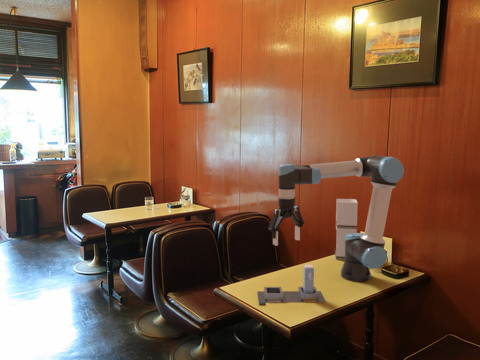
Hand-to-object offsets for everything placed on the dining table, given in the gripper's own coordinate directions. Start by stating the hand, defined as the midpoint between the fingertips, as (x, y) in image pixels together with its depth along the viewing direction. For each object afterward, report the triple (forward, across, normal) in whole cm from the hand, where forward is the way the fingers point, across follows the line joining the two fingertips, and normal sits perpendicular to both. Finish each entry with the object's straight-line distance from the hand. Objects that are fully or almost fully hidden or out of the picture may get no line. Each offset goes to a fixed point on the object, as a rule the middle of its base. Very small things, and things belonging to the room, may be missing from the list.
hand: (286, 242), depth 181 cm
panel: (+25, +3, +6) cm, 26 cm away
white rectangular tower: (+25, -64, -18) cm, 71 cm away
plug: (+24, -4, +11) cm, 26 cm away
